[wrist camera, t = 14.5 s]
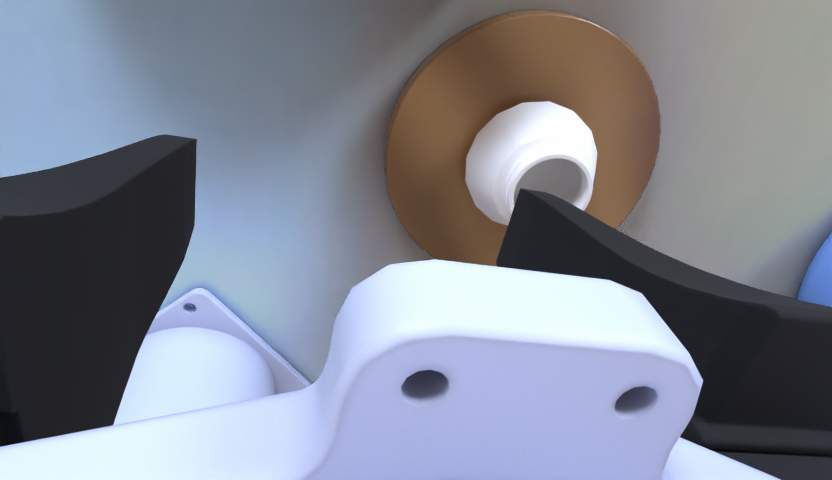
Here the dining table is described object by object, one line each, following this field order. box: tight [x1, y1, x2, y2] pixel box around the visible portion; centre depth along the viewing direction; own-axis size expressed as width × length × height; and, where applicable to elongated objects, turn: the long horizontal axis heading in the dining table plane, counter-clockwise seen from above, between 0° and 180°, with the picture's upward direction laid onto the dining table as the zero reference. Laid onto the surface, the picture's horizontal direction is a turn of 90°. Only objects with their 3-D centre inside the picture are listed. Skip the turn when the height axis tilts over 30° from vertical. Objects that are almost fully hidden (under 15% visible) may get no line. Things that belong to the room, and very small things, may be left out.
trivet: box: [384, 10, 660, 267], centre depth 22 cm, size 11×11×1 cm
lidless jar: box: [465, 101, 597, 226], centre depth 21 cm, size 5×3×5 cm
